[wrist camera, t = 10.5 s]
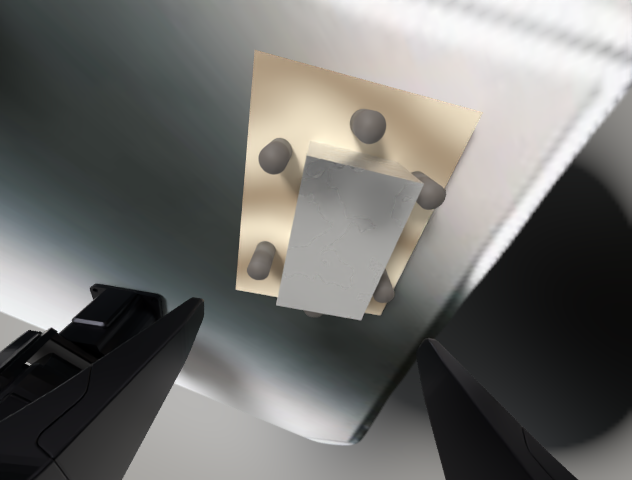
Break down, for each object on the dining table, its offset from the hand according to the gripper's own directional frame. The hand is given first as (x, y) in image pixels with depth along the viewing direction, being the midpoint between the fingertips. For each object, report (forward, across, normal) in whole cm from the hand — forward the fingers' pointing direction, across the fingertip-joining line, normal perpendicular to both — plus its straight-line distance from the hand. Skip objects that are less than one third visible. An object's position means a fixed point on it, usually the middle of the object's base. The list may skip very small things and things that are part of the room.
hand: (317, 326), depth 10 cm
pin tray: (+12, -1, 0) cm, 12 cm away
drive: (+10, -1, 0) cm, 10 cm away
